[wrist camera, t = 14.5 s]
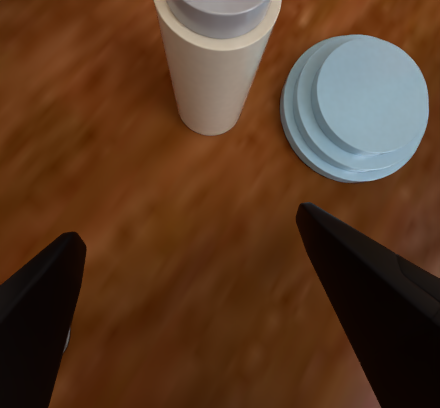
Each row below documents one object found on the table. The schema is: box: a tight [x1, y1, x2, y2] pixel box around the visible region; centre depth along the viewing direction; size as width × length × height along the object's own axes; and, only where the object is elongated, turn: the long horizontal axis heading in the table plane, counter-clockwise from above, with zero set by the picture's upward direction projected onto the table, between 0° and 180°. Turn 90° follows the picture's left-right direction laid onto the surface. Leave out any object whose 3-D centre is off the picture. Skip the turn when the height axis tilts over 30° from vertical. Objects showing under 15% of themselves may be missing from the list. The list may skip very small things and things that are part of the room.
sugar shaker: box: [154, 0, 282, 136], centre depth 14 cm, size 6×6×11 cm
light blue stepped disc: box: [280, 35, 429, 183], centre depth 19 cm, size 14×14×3 cm
